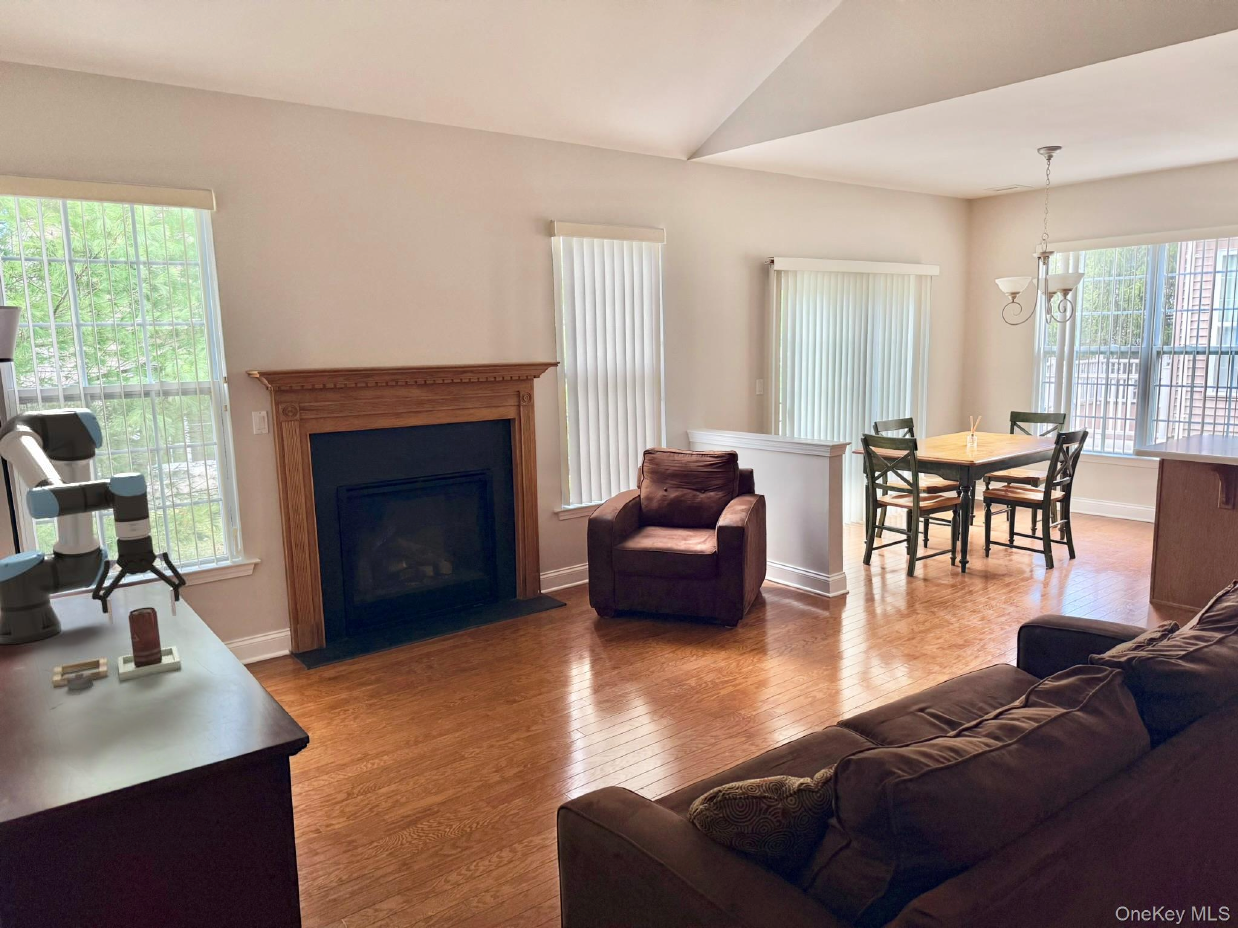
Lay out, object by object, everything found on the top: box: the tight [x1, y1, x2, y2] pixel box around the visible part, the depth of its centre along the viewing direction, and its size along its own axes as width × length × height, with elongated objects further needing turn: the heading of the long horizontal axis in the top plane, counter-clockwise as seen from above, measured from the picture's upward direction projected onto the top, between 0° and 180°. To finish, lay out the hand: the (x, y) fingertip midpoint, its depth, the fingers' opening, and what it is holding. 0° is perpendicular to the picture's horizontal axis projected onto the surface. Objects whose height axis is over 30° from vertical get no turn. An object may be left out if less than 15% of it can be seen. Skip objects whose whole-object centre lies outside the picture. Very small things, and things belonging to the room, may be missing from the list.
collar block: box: [52, 656, 109, 692], centre depth 203 cm, size 18×11×3 cm, turn 32°
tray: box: [117, 645, 182, 681], centre depth 210 cm, size 13×13×2 cm
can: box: [128, 606, 162, 668], centre depth 209 cm, size 6×6×14 cm
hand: (143, 619), depth 208 cm, fingers open, 13 cm apart
